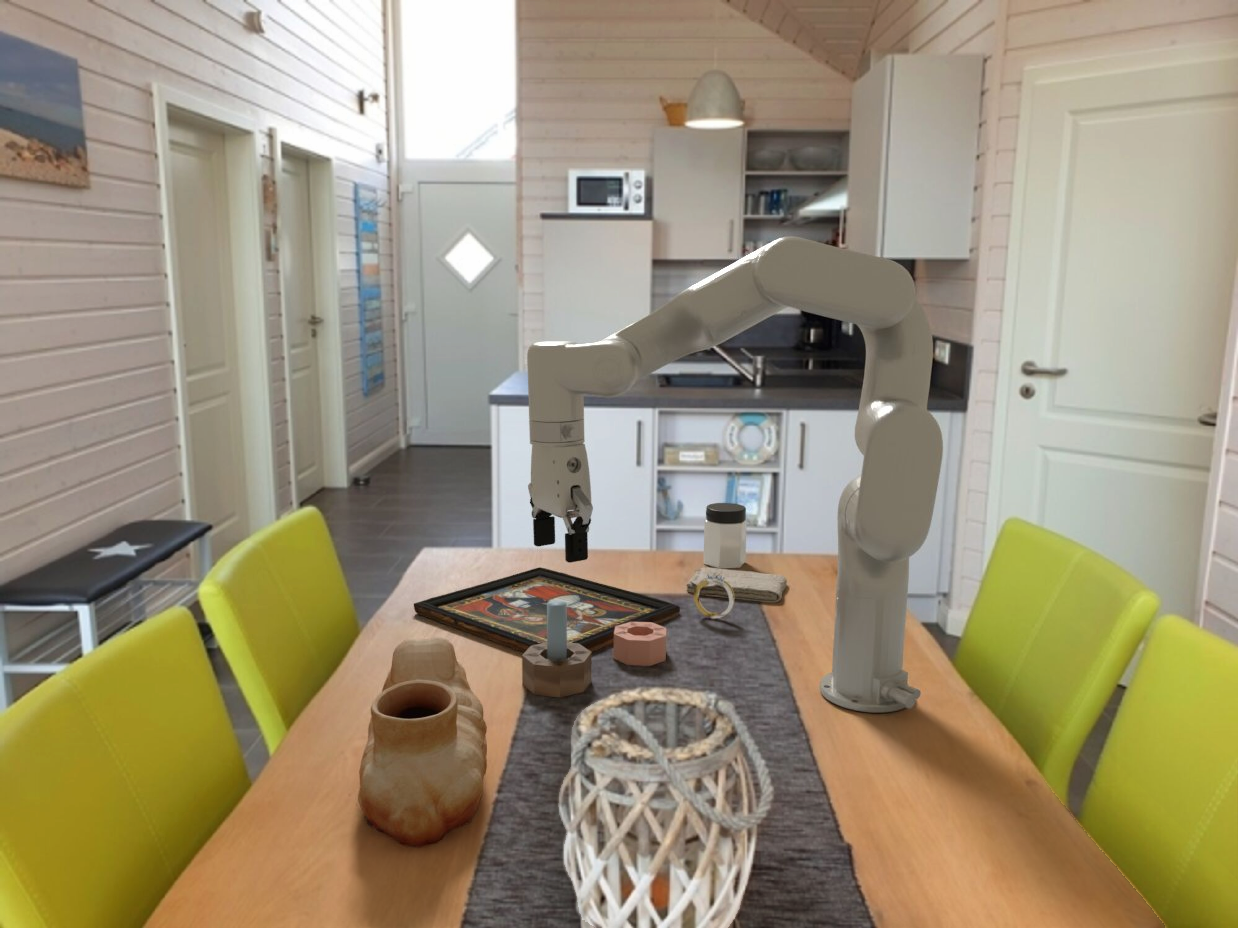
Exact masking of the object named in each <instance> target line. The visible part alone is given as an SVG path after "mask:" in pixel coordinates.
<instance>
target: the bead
mask: <svg viewBox="0 0 1238 928" xmlns="http://www.w3.org/2000/svg"><path fill="white" fill-rule="evenodd" d="M521 656H522V657H521V661H522V662H521V664H522V665H521V670H522V671H521V673H522V674H521V675H522V677H521V678H522V686H523V687H524V688H525V689H527V690H528V691H529V692H530V693H531V694H533V695H535V696H543V697H552V698H558V699H559V698H560V699H561V698H564V697H568V696H573V695H578V694H580V693H585V692H586V690H587V688H588V687H589V686H590V684H591V683H592V652H591V651H589V650H588V649H586V648H585V647H583V646H582V645H580V644H579V643H569V642H567V659H562V660H551V659H547V643H542V644H537V645H532V646H530V647H529V648H528V649H527V651H526V652H525V653H524V652H523V654H522V655H521Z"/></svg>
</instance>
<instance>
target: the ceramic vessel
mask: <svg viewBox="0 0 1238 928" xmlns="http://www.w3.org/2000/svg"><path fill="white" fill-rule="evenodd" d="M391 659H392V661H391V666H390V670H389V671H388V673H387V675H386V679H385V681H384V684H383V687H382V690H381V692H380V693H379V694H377V695H376V696H375V698H374V699H373V700H372V703H371V705H370V716H371V717H370V722H369V724H368V728H367V730H368V732H367V733H368V734H367V738H368V739H367V743H366V745H365V746H364V750H363V753H362V757H361V761H360V767H359V771H358V773H359V790H358V793H357V802H358V804H359V807H360V810H361V812H362V813H363V815H364V817H365V820H366V824H367V825H369V827H370V826H371V827H372V828H374V829H375V830H376V831H378V832H379V833H381V834H384V835H386V836H388V837H390V838H393V839H395V840H396V841H398V843H399V844H400V845H403V846H406V847H414V848H422V847H425V846H430V845H434V844H437V843H440V842H441V841H442V840H443V838H444V837H445V835H446V834H448V833H449V832H451V831H452V830H454V829H457V828H459V827H462V826H465V825H467V824H469V823H470V822H471V821H472V819H473V817H474V815H475V813H476V811H477V809H478V805H479V802H480V800H481V797H482V793H483V782H484V781H483V780H484V776H485V775H486V773H487V768H488V766H487V765H488V763H487V762H488V761H487V753H488V742H487V736H486V734H487V730H488V726H487V723H486V721H485V718H484V707H483V704H482V703H481V700H480V699H479V697H477V695H476V694H475V693H474V692H473V691H472V689H471V686H470V683H469V682H468V679H467V672H466V671H465V668H464V666H463V665H462V664H461V663H460V662H459V661H458V660H457V656H456V651H455V647H454V645H453V643H452V642H451V641H450V640H449V639H446V638H444V637H440V636H435V637H431V638H422V639H413V638H407V639H404V640H403V641H401V642H400V643H399V644H397V646H395V648H394V651H393V652H392V658H391Z"/></svg>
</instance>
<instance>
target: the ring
mask: <svg viewBox="0 0 1238 928" xmlns="http://www.w3.org/2000/svg"><path fill="white" fill-rule="evenodd" d="M719 575H720V574H718V575H716V573H715V572H714V573H713V575H712V576H709V574H707V577H706V578H704V579H703V580H702V581H700V583H699V584H698V586H697V587H696V588H695V590H694V593H693V601H694V604H695V606H696V608H697V610H698V611H699V612H700V613H701V614H702V615H704V616H706V617H708V618H710V619H711V620H715V619H721V618H724V617H725V616H727V615H728V614H729V613H730V611H731V610H732V609H733V607H734V605H735V596H734V591H733V589H732V587H731V586H730V585H729V584H728V583H727V582H726V581H724V580H725V577H723V579H722V575H721V576H719ZM709 583H712V584H716V583H717V584H720V585H722V586H723V587H724V588H725V589H726V591H727V593H728V596H729V598H728V606H727V608H726V609H725V610H724V611H722V612H719V613H717V612H716V611H708V610H707V609H706V608H705V607H704V606H703V605H702V602H701V600H700V594H699V591H700V589H701V588H702V587H704V586H706V585H709Z"/></svg>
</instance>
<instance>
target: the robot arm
mask: <svg viewBox="0 0 1238 928" xmlns="http://www.w3.org/2000/svg"><path fill="white" fill-rule="evenodd" d="M786 308H793V309H796V310H799V311H802V312H805V313H810V314H813V315H817V316H821V317H825V318H829V319H834V320H838V321H840V322H841V321H842V322H846V323H849V324H850V323H851V324H855V325H856V326H857V327H858V328H859V330H860V332H861V333H862V336H863V340H864V344H865V362H864V363H865V364H864V375H863V382H862V387H861V392H860V393H861V394H860V399H859V405H858V406H859V408H858V410H857V411H858V412H857V417H856V421H855V425H854V441H855V444H856V446H857V449H858V450H859V452H860V453H861V454H862V456H863V459H862V468H861V474H860V475H858V476H856V477H855V478H853V479H852V480H851V481H849V483H847V485H846V486H845V488H844V489H843V491H842V493H841V495H840V497H839V500H838V504H837V505H838V507H837V517H836V518H837V576H836V577H837V578H836V593H835V613H834V614H835V615H834V628H833V629H834V631H833V632H834V633H833V649H832V668H831V672H829V673H828V674H826V675H824V676H823V677H821V679H820V682H819V691H820V693H821V695H822V696H823V697H824V698H825V699H826V700H828V701H829V702H831V703H832V704H834V705H837V706H839V707H842V708H845V709H847V710H852V711H856V712H857V711H858V712H863V713H873V714H874V713H876V714H877V713H878V714H879V713H880V714H881V713H882V714H884V713H891V712H897V711H900V710H903V709H905V708H907V709H909V710H910V709H912V708H913V707H914V706H915V704H916V701H917V700H918V699H919V698H920V696H921V690H920V689H918V688H916V687H914V686H911V685H909V684H908V678H909V672H908V671H907V670H904V669H903V662H904V647H905V635H906V620H907V619H906V618H907V606H908V592H909V579H910V578H909V577H910V558H911V557H912V556H914V555H915V554H916V553H917V552H918V551H919V550H920V549H921V548H922V546H923V545H924V543H925V541H926V540H927V537H928V535H929V532H930V528H931V526H932V520H933V515H934V509H935V504H936V497H937V491H938V488H939V487H938V486H939V480H940V475H941V468H942V463H943V462H942V461H943V456H944V455H943V453H944V442H943V434H942V430H941V428H940V425H939V422H938V421H937V419H936V418H935V417H934V415H933V414H932V413H931V412H930V411H928V399H929V394H930V393H929V392H930V387H931V378H932V377H931V376H932V367H933V358H934V342H933V334H932V329H931V325H930V321H929V319H928V316H927V314H926V312H925V310H924V308H923V306H922V304H921V302H920V301H919V299H918V297H916V285H915V281H914V279H913V277H912V275H911V274H910V272H909V271H908V269H906V268H905V267H904V266H903V265H901V264H900V263H898V262H896V261H894V260H891V259H889V258H884V257H880V256H876V255H872V254H867V253H863V252H860V251H854V250H851V249H846V248H842V247H838V246H833V245H830V244H826V243H824V242H823V243H822V242H818V241H815V240H810V239H808V238H803V237H801V236H793V235H790V236H783V237H780V238H777V239H775V240H773V241H771V242H769V243H767V244H765V245H764V246H762V247H760V248H758V249H756V250H755V251H753V252H750V253H749V254H748V255H745V256H742V258H739V259H738V260H736V261H735V262H733V263H731V264H729V265H728V266H726V267H724V268H722V269H721V270H719V271H716V272H714V273H713V274H711V275H709V276H707V277H706V278H703V279H702V280H700V281H699V282H697V283H694V284H692V285H691V286H689V287H688V288H686V289H685V290H683V291H682V292H680V293H678V294H677V295H676V296H674V297H673V298H671V300H669V301H668V302H667V303H665V304H664V305H662V306H660V307H659V308H658V309H655V310H654V311H653V312H651V313H648V314H647V315H645V316H643V317H642V318H641V319H638V320H637V321H635V322H633V323H631V324H629V325H627V326H625V327H624V328H622V329H620V330H619V331H617V332H615V333H613V334H611V335H610V336H608V337H606V338H604V339H601V340H600V341H597V342H591V343H581V344H578V343H577V342H574V341H568V340H564V341H563V340H553V341H552V340H551V341H550V340H549V341H547V340H546V341H538V342H535V343H532V344H531V345H530V346H529V347H528V350H527V353H526V354H527V355H526V356H527V357H526V359H527V361H526V362H527V381H528V382H527V386H528V387H527V389H528V390H527V391H528V424H529V426H528V427H529V444H530V445H531V457H530V459H531V460H530V482H529V483H528V485H527V488H528V493H529V497H530V499H529V504H530V506H531V508H532V510H531V517H532V518H533V520H532V528H533V545H534V546H535V547H544V546H549V545H554V544H555V543H556V523H555V522H556V518H555V517H558V518H561V519H562V520H563V522H564V525H565V529H566V531H567V532H566V533H564V554H565V555H564V556H565V557H564V558H565V559H564V560H565V561H566V562H567V563H569V564H571V563H574V562H575V563H576V562H582V561H587V560H588V558H589V548H588V547H589V542H588V537H589V536H588V533H589V531H590V524H591V523H592V514H593V510H594V506H593V504H592V491H591V490H592V489H591V488H592V487H591V476H590V467H589V466H590V465H589V459H588V453H587V449H586V444H585V441H586V439H585V407H584V406H585V402H584V401H585V400H584V398H585V397H584V396H585V395H587V396H594V397H601V398H602V397H603V398H615V397H619V396H622V395H624V394H625V393H627V392H628V391H630V390H631V388H632V387H633V386H634V384H635V383H636V382H638V381H640V380H642V379H643V378H645V377H647V376H648V375H650V374H652V373H654V372H656V371H658V370H659V369H661V368H663V367H665V366H668V365H669V364H671V363H673V362H676V361H677V360H679V359H681V358H683V357H685V356H688V355H690V354H694V353H698V352H701V351H702V352H703V351H705V350H708V349H711V348H714V347H716V346H718V345H720V344H722V343H725V342H726V341H727V340H729V339H731V338H733V337H735V336H737V335H739V334H741V333H743V332H744V331H746V330H747V329H750V328H751V327H753V326H755V325H757V324H759V323H761V322H762V321H764V320H767V319H768V318H770V317H772V316H774V315H775V314H777V313H780V312H781V311H783V310H784V309H786ZM552 515H553V516H552ZM573 518H575V519H574V521H572V519H573Z"/></svg>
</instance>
